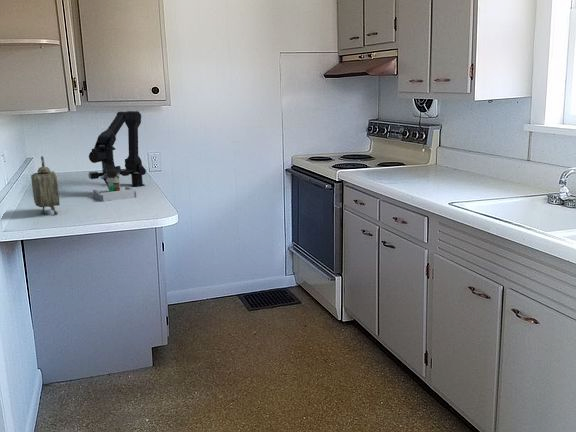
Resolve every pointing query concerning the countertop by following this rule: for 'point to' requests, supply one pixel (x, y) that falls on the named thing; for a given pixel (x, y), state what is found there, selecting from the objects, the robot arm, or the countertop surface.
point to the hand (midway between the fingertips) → (110, 190)
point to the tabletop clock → (45, 188)
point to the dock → (115, 194)
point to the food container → (113, 183)
